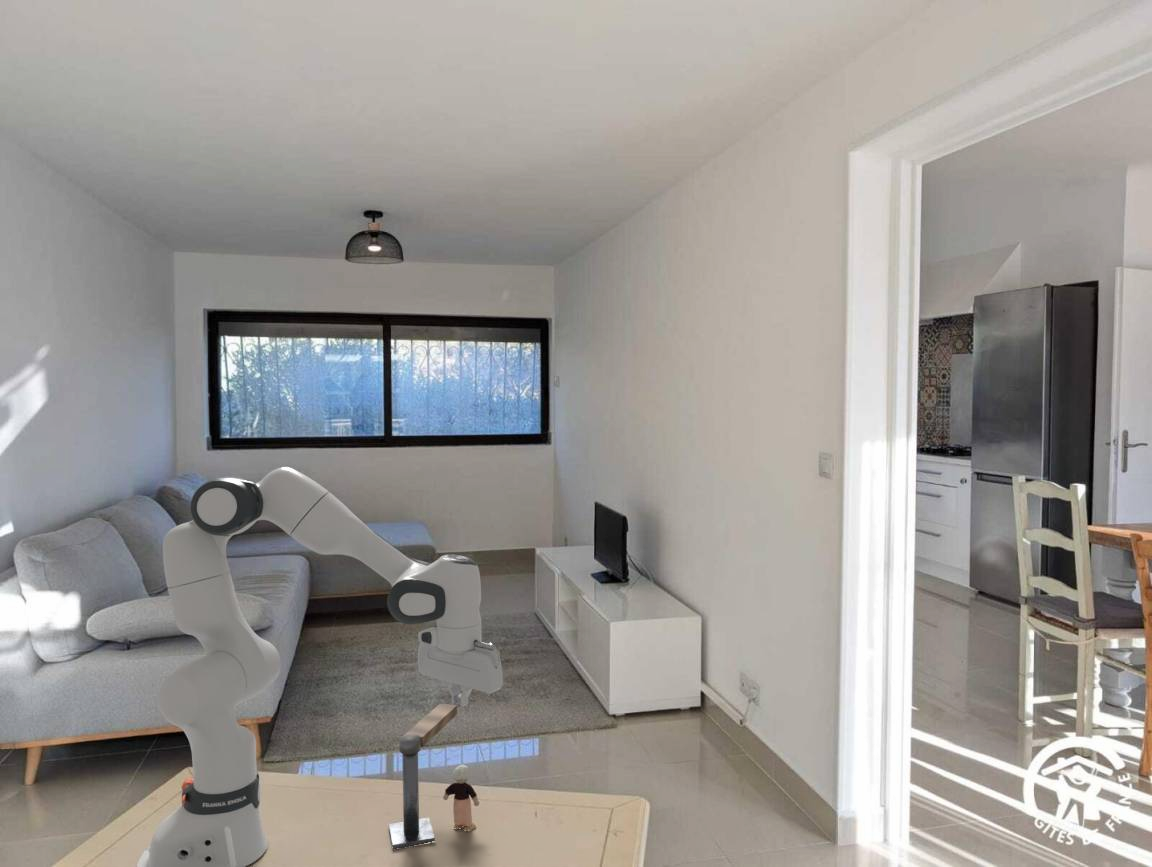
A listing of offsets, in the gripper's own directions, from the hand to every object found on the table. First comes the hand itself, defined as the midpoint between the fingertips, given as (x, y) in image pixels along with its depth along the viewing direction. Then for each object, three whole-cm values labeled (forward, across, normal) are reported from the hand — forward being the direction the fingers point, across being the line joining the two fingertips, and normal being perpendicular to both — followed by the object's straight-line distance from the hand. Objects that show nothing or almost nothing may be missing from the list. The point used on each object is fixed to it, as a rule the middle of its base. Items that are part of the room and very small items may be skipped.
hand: (460, 704), depth 164 cm
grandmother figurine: (+25, 0, 0) cm, 25 cm away
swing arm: (+8, +9, 0) cm, 12 cm away
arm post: (+25, +6, +8) cm, 27 cm away
